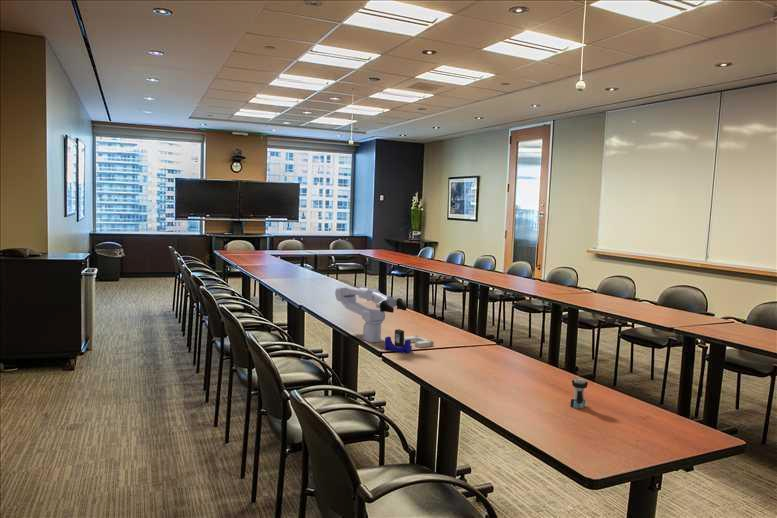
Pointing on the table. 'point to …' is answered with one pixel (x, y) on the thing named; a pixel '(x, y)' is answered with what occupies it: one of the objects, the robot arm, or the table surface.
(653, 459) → the table surface
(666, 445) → the table surface
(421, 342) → the groove holder
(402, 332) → the ink cartridge
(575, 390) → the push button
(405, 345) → the blue curved piece
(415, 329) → the table surface
